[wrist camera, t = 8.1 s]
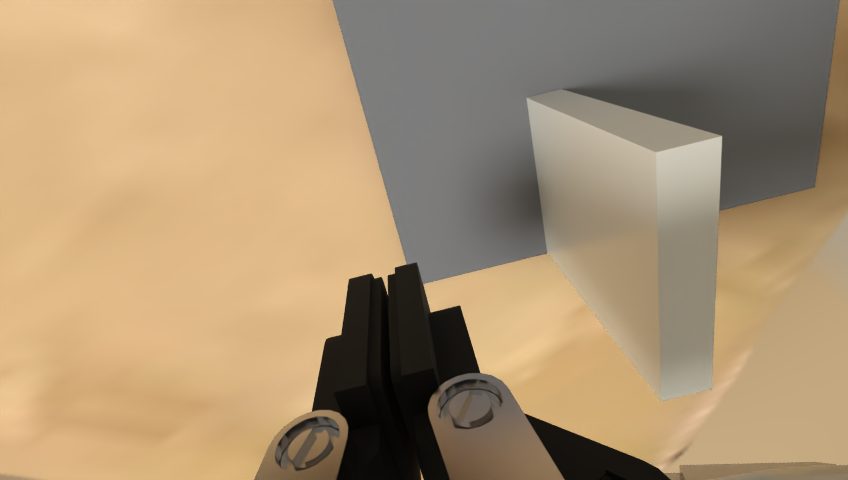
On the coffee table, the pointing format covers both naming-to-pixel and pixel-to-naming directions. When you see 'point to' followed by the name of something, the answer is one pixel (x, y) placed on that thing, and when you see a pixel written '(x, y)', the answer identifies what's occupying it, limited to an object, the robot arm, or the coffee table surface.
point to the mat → (582, 74)
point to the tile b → (634, 229)
